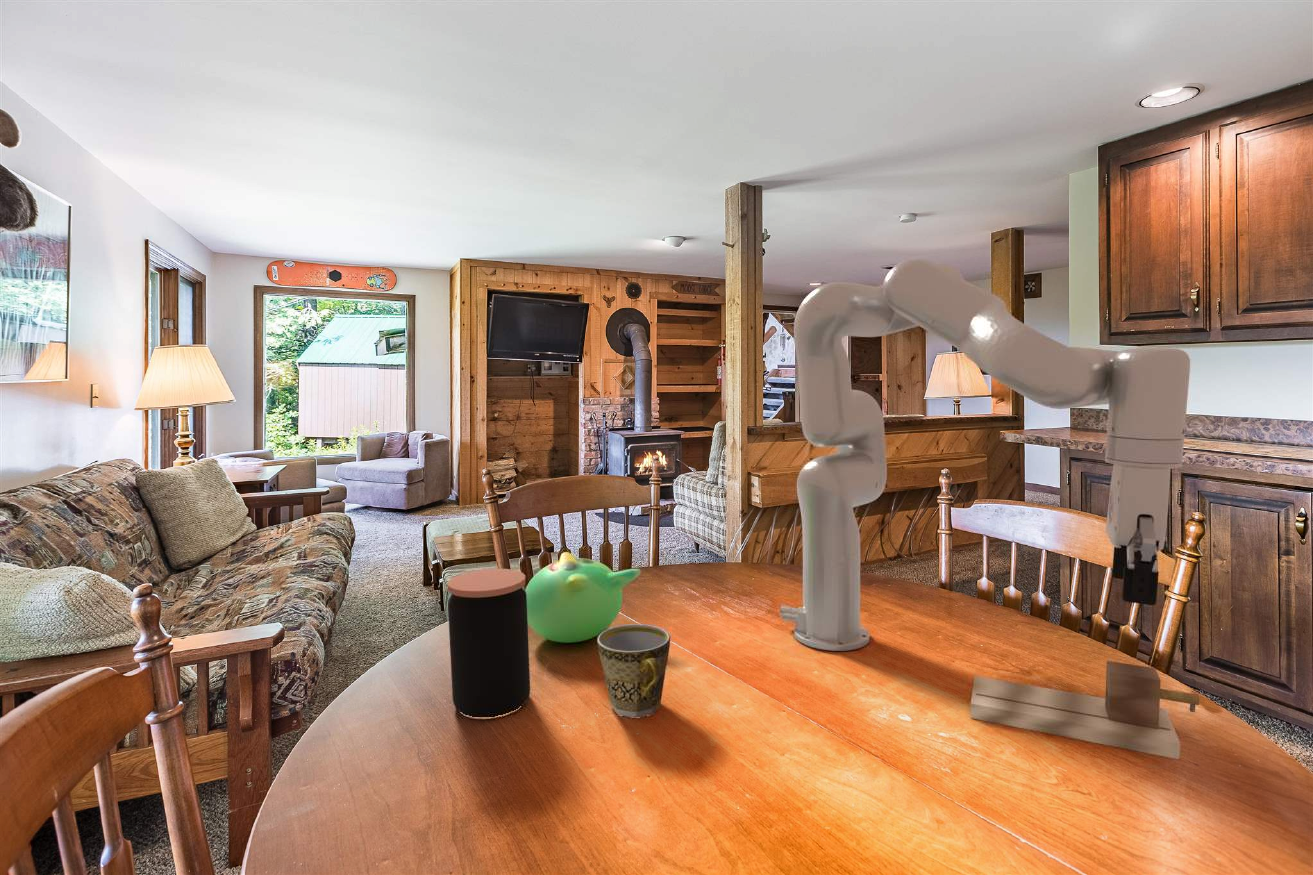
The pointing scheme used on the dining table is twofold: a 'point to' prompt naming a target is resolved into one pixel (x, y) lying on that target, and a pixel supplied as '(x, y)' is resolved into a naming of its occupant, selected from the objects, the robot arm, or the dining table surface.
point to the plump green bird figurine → (575, 598)
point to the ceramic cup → (634, 667)
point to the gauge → (1138, 694)
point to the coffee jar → (488, 642)
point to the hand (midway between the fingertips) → (1132, 590)
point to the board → (1068, 716)
